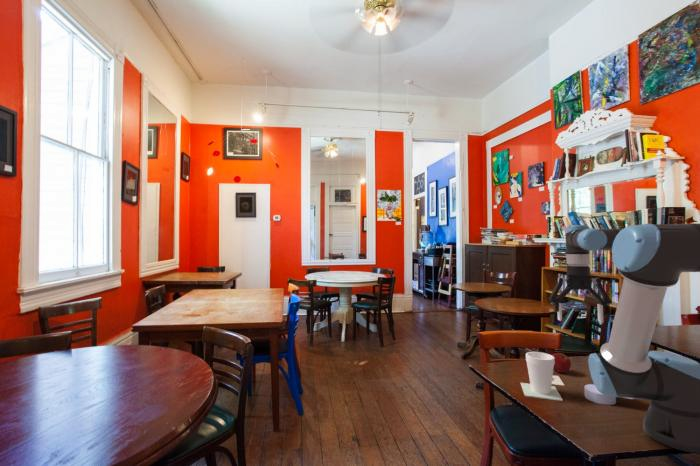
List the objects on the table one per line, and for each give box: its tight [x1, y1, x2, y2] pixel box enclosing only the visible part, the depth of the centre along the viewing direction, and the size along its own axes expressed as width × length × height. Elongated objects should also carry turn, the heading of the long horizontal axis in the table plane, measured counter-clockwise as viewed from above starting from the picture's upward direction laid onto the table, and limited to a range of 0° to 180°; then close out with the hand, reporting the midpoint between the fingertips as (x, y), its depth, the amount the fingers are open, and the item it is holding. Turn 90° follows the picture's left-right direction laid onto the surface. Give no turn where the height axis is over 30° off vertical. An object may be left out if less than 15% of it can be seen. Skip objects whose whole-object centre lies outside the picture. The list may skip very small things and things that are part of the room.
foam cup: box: [525, 351, 555, 394], centre depth 128 cm, size 10×9×13 cm
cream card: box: [552, 375, 565, 387], centre depth 139 cm, size 10×10×1 cm
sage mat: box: [520, 382, 564, 402], centre depth 128 cm, size 12×12×1 cm
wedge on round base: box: [584, 383, 634, 406], centre depth 121 cm, size 9×7×13 cm
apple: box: [551, 352, 572, 374], centre depth 147 cm, size 8×8×8 cm
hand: (579, 321), depth 130 cm, fingers open, 13 cm apart
